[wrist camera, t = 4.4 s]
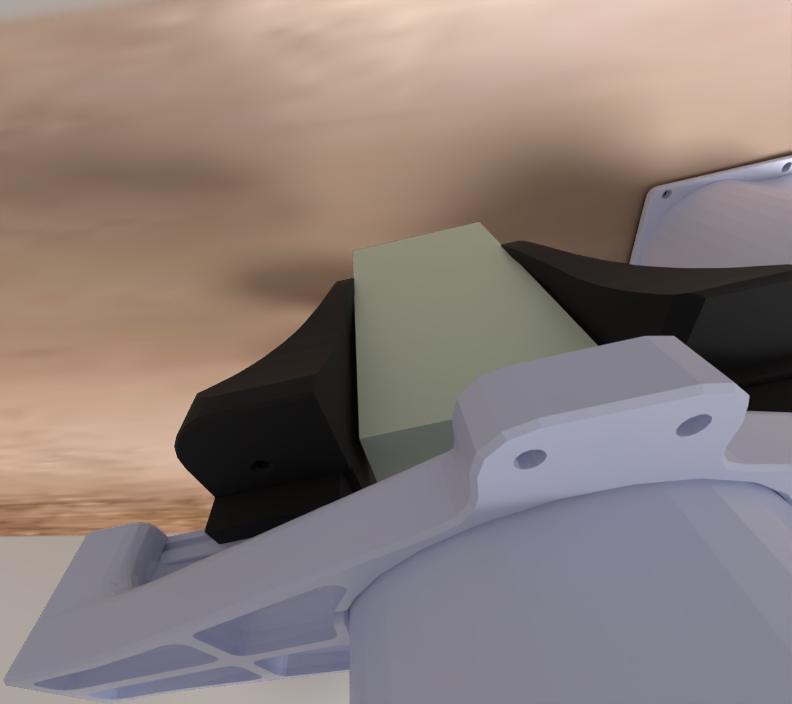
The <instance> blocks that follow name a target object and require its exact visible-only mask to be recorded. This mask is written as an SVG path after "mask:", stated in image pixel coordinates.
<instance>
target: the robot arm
mask: <svg viewBox="0 0 792 704" xmlns="http://www.w3.org/2000/svg"><path fill="white" fill-rule="evenodd" d="M782 167H783V168H782ZM665 191H667V192H666V194H665V195H664V196H663V197H662V195H663V193H664V192H665ZM501 247H502V248H503V249H504V250H505V251H506V252H507V253H508V254H509V255H510V256H511V257H512V258H513V259H514V260H515V261H517V262H518V263H519V264H520V265H521V266H522V267H523V268H524V269H525V270H526V271H527V272H528V273H529V274H530V275H531V276H532V277H533V278H534V279H535V280H536V281H537V282H538V283H539V284H540V285H541V287H542V288H543V289H544V290H545V291H546V292H547V293H548V294H549V295H550V296H551V297H552V298H553V299H554V300H555V301H556V302H557V303H558V304H559V305H560V306H561V307H562V308H563V310H564V311H565V312H566V313H567V314H568V315H569V316H570V317H571V318H572V319H573V320H574V321H575V322H576V323H577V324H578V325H579V326H580V327H581V328H582V329H583V330H584V331H585V332H586V334H587V335H588V336H589V337H590V338H591V339H592V340H593V341H594V342H595V343H596V344H597V345H598V346H596V347H591V348H587V349H582V350H577V351H573V352H568V353H563V354H559V355H554V356H550V357H545V358H540V359H536V360H531V361H526V362H522V363H517V364H512V365H508V366H505V367H502V368H500V369H497V370H495V371H492V372H490V373H488V374H485V375H483V376H480V377H478V378H477V379H476V380H475V381H474V382H473V383H472V384H471V385H470V386H469V387H468V388H467V389H466V390H465V391H464V392H463V393H462V394H461V395H460V396H459V397H458V398H457V401H456V405H455V408H454V412H453V416H452V424H453V431H454V447H453V449H452V450H450V451H448V452H446V453H443V454H441V455H439V456H436V457H434V458H432V459H430V460H427V461H425V462H423V463H421V464H418V465H416V466H414V467H411V468H409V469H407V470H405V471H402V472H400V473H398V474H396V475H393V476H391V477H389V478H386V479H384V480H382V481H380V482H377V480H376V478H375V476H374V473H373V471H372V468H371V466H370V463H369V461H368V459H367V456H366V454H365V451H364V449H363V447H362V444H361V442H360V439H359V415H358V387H357V359H356V331H355V303H354V296H355V285H354V278H351V279H347V280H342V281H338V282H336V283H335V284H334V286H333V287H332V289H331V290H330V291H329V293H328V294H327V296H326V297H325V298H324V300H323V301H322V302H321V304H320V305H319V306H318V308H317V309H316V310H315V311H314V312H313V314H312V315H311V316H310V317H309V318H308V319H307V321H306V322H305V323H304V324H303V325H302V326H301V327H300V328H299V329H298V330H297V331H296V332H295V333H294V334H293V335H292V336H291V337H289V338H288V339H287V340H286V341H285V342H284V343H282V344H281V345H280V346H278V347H277V348H276V349H274V350H273V351H272V352H270V353H269V354H268V355H266V356H265V357H264V358H262V359H261V360H259V361H258V362H256V363H254V364H253V365H251V366H250V367H248V368H246V369H245V370H243V371H241V372H239V373H238V374H236V375H234V376H232V377H230V378H228V379H226V380H224V381H222V382H220V383H218V384H216V385H214V386H212V387H210V388H208V389H206V390H204V391H202V392H199V393H197V395H196V397H195V399H194V401H193V403H192V405H191V407H190V409H189V411H188V413H187V415H186V417H185V420H184V422H183V424H182V426H181V428H180V430H179V432H178V434H177V436H176V441H175V446H174V447H175V451H176V455H177V458H178V459H179V460H180V462H181V463H182V464H183V466H184V467H185V468H186V469H187V470H188V471H189V472H190V473H191V474H192V475H193V476H194V477H195V478H196V479H197V480H198V481H199V482H200V483H201V484H202V485H203V486H204V487H205V488H206V489H207V490H208V491H209V492H210V493H211V494H212V495H213V496H214V497H215V500H214V503H213V506H212V509H211V513H210V516H209V519H208V522H207V525H206V528H205V529H203V530H199V531H194V532H189V533H184V534H179V535H174V536H170V537H167V536H166V535H165V533H164V532H163V531H162V530H161V529H159V528H158V527H156V526H154V525H152V524H149V523H143V522H137V523H130V524H125V525H120V526H115V527H110V528H106V529H101V530H96V531H93V532H90V533H88V534H87V535H86V537H85V539H84V541H83V543H82V544H81V546H80V548H79V549H78V551H77V553H76V555H75V556H74V558H73V560H72V562H71V563H70V565H69V567H68V568H67V570H66V572H65V574H64V575H63V577H62V579H61V581H60V583H59V584H58V586H57V588H56V589H55V591H54V593H53V595H52V596H51V598H50V600H49V601H48V603H47V605H46V607H45V609H44V610H43V612H42V614H41V615H40V617H39V619H38V621H37V622H36V624H35V626H34V627H33V629H32V631H31V633H30V635H29V636H28V638H27V640H26V641H25V643H24V645H23V647H22V648H21V650H20V652H19V654H18V655H17V657H16V659H15V661H14V662H13V664H12V666H11V667H10V669H9V671H8V673H7V674H6V676H5V678H4V682H5V685H7V686H13V687H19V688H24V689H30V690H36V691H41V692H47V693H52V694H59V695H64V696H69V697H75V698H80V699H86V700H92V701H98V702H103V703H114V702H119V701H125V700H131V699H136V698H142V697H147V696H153V695H160V694H166V693H173V692H180V691H186V690H193V689H201V688H209V687H217V686H225V685H233V684H242V683H250V682H260V681H269V680H277V679H287V678H295V677H304V676H313V675H322V674H331V673H339V672H348V671H350V704H792V155H790V156H785V157H781V158H777V159H772V160H768V161H764V162H759V163H755V164H751V165H746V166H742V167H738V168H733V169H729V170H725V171H720V172H716V173H711V174H707V175H703V176H698V177H694V178H690V179H685V180H681V181H677V182H672V183H668V184H664V185H659V186H656V187H653V188H652V189H651V190H650V191H649V192H648V194H647V196H646V199H645V203H644V207H643V211H642V215H641V219H640V223H639V227H638V231H637V235H636V239H635V243H634V247H633V251H632V255H631V259H630V263H629V264H625V263H617V262H610V261H605V260H599V259H594V258H590V257H585V256H581V255H576V254H572V253H568V252H565V251H561V250H557V249H554V248H550V247H546V246H543V245H539V244H535V243H531V242H526V241H515V242H511V243H506V244H502V245H501Z"/></svg>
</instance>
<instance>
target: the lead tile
mask: <svg viewBox="0 0 792 704" xmlns="http://www.w3.org/2000/svg"><path fill="white" fill-rule="evenodd" d="M353 274H354V285H355V296H354V303H355V331H356V359H357V387H358V415H359V439H360V442H361V444H362V447H363V449H364V451H365V454H366V456H367V459H368V461H369V463H370V466H371V468H372V471H373V473H374V476H375V478H376V480H377V482H380V481H382V480H384V479H386V478H389V477H391V476H393V475H396V474H398V473H400V472H402V471H405V470H407V469H409V468H411V467H414V466H416V465H418V464H421V463H423V462H425V461H427V460H430V459H432V458H434V457H436V456H439V455H441V454H443V453H446V452H448V451H450V450H452V449H453V447H454V431H453V424H452V416H453V412H454V408H455V405H456V401H457V398H458V397H459V396H460V395H461V394H462V393H463V392H464V391H465V390H466V389H467V388H468V387H469V386H470V385H471V384H472V383H473V382H474V381H475V380H476V379H477V378H478V377H480V376H483V375H485V374H488V373H490V372H492V371H495V370H497V369H500V368H502V367H505V366H508V365H512V364H517V363H522V362H526V361H531V360H536V359H540V358H545V357H550V356H554V355H559V354H563V353H568V352H573V351H577V350H582V349H587V348H591V347H596V346H598V345H597V344H596V343H595V342H594V341H593V340H592V339H591V338H590V337H589V336H588V335H587V334H586V332H585V331H584V330H583V329H582V328H581V327H580V326H579V325H578V324H577V323H576V322H575V321H574V320H573V319H572V318H571V317H570V316H569V315H568V314H567V313H566V312H565V311H564V310H563V308H562V307H561V306H560V305H559V304H558V303H557V302H556V301H555V300H554V299H553V298H552V297H551V296H550V295H549V294H548V293H547V292H546V291H545V290H544V289H543V288H542V287H541V285H540V284H539V283H538V282H537V281H536V280H535V279H534V278H533V277H532V276H531V275H530V274H529V273H528V272H527V271H526V270H525V269H524V268H523V267H522V266H521V265H520V264H519V263H518V262H517V261H515V260H514V259H513V258H512V257H511V256H510V255H509V254H508V253H507V252H506V251H505V250H504V249H503V248H502V247H501V244H500V243H499V242H498V241H497V240H496V238H495V237H494V236H493V235H492V234H491V233H490V232H489V231H488V230H487V229H486V228H485V227H484V226H483V225H482V224H481V223H480V222H477V223H472V224H468V225H463V226H459V227H455V228H450V229H446V230H441V231H437V232H433V233H428V234H424V235H420V236H415V237H411V238H406V239H402V240H398V241H393V242H389V243H384V244H380V245H376V246H371V247H367V248H362V249H358V250H354V251H353Z"/></svg>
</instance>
